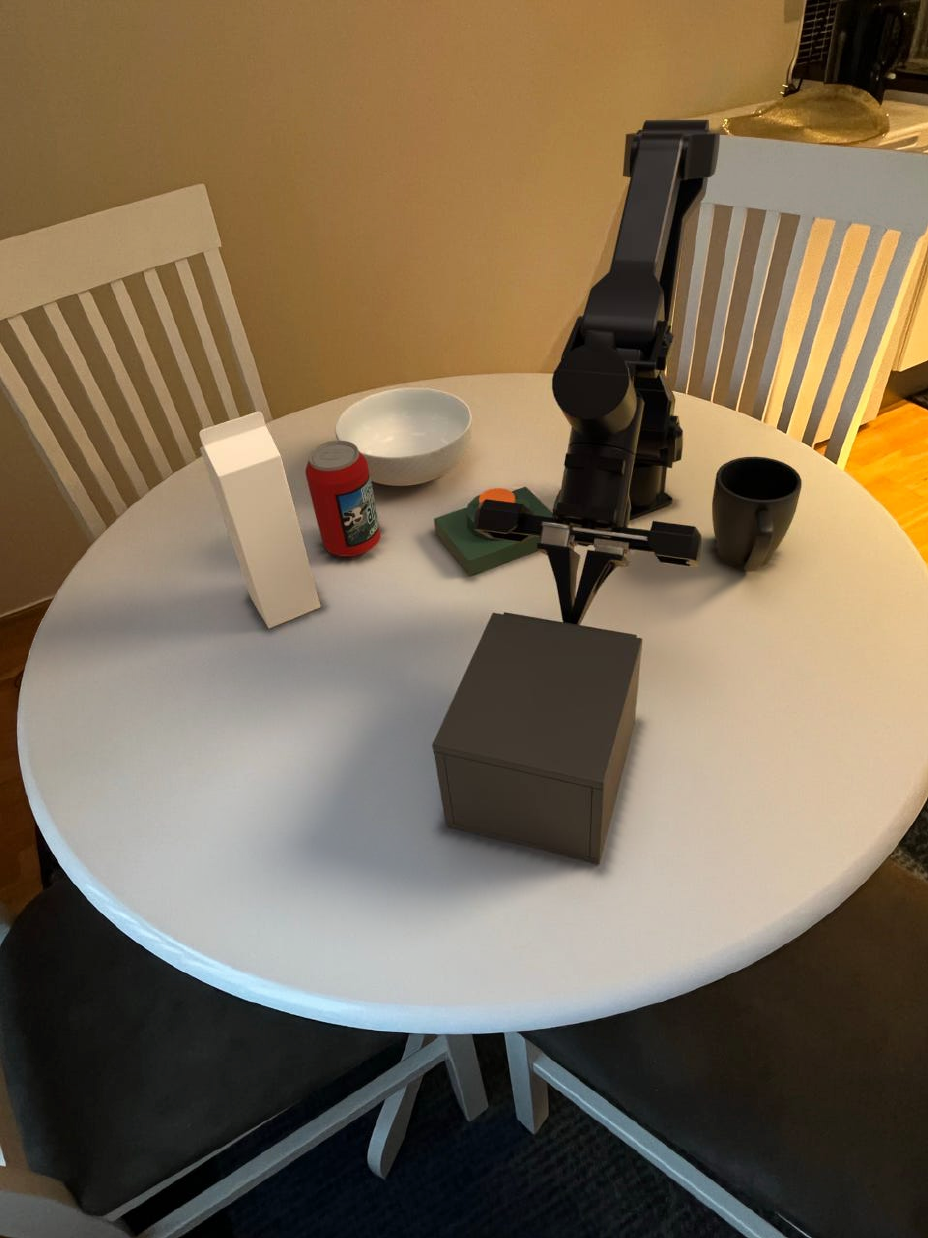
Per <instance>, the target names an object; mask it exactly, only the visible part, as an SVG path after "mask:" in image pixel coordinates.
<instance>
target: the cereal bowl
mask: <svg viewBox="0 0 928 1238" xmlns="http://www.w3.org/2000/svg"><path fill="white" fill-rule="evenodd" d="M334 429H335V431H334V432H335V438H336V441H347V442H351V443H353V444H355V445H356V446H357V448H358V450H359V451H360V453H361V454H362V455H363V456H364V457H365V458H366V460H367V464H368V469H369V474H370V479H371V482H373V483H378V484H381V485H385V486H396V487H397V486H398V487H403V486H405V487H407V486H414V485H416V486H417V485H420V484H424V483H428V482H431V481H433V480H436V479H438V478H441V477H442V476H445V475H446V474H448V473H449V472H451V471H452V470H453V469H455V468H456V467H457V465H459V464H460V462H461V461H462V460H463V459H464V457H465V456H466V454H467V452H468V450H469V448H470V445H471V443H472V442H471V441H472V438H473V437H472V436H473V415H472V411H471V409H470V407H469V406H468V404H467V403H466V402H465V401H464V400H463V399H461V398H460V397H458V396H456V395H454V394H452V393H450V392H447V391H444V390H441V389H435V388H428V387H400V388H393V389H387V390H383V391H380V392H375V393H374V394H371V395H370V394H369V395H367V396H365V397H363V398H361V399H359V400H357V401H355V402H354V403H352V404H351V405H350V406H348V407H347V408H346V409H345V410H344V411H342V413H341V414H340V415H339V417H338V419H337V421H336V424H335V428H334Z"/></svg>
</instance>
